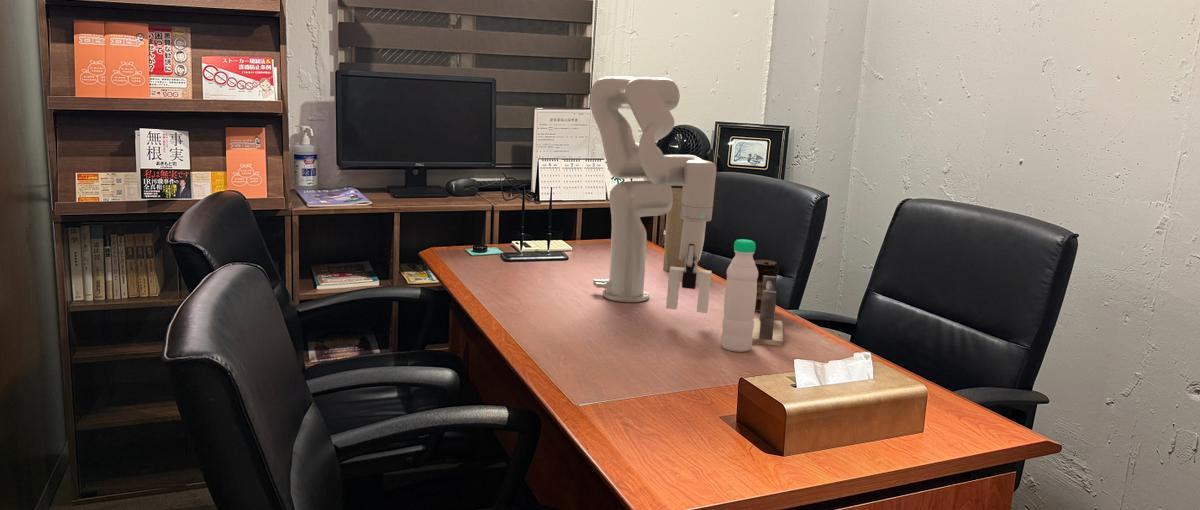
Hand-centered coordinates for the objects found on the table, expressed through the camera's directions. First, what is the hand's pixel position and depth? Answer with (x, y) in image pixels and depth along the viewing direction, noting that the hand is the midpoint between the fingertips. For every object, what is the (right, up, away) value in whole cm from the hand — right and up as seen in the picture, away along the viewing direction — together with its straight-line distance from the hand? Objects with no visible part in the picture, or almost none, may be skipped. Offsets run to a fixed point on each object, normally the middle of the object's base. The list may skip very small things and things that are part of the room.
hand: (689, 285), depth 213 cm
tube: (+3, +3, +60) cm, 61 cm away
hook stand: (+18, -12, -2) cm, 22 cm away
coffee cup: (+21, -7, +20) cm, 29 cm away
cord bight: (0, -6, +1) cm, 6 cm away
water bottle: (+9, -14, -13) cm, 22 cm away
